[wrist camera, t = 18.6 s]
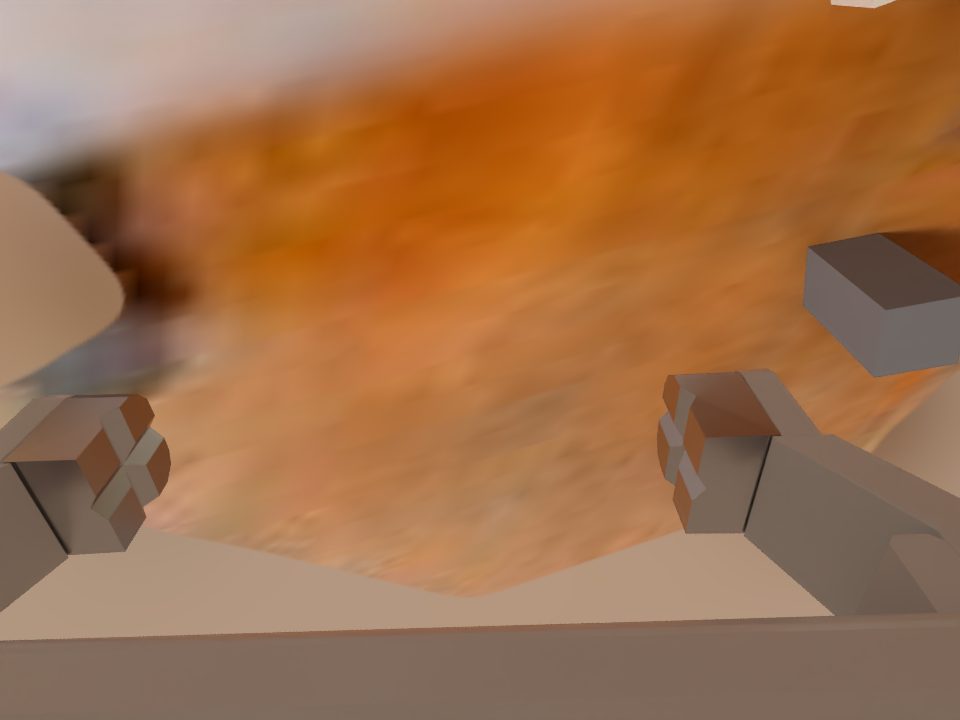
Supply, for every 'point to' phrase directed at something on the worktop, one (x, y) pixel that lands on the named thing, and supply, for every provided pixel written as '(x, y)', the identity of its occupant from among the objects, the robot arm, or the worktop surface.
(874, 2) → the cream base block
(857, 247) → the charcoal block
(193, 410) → the worktop surface
